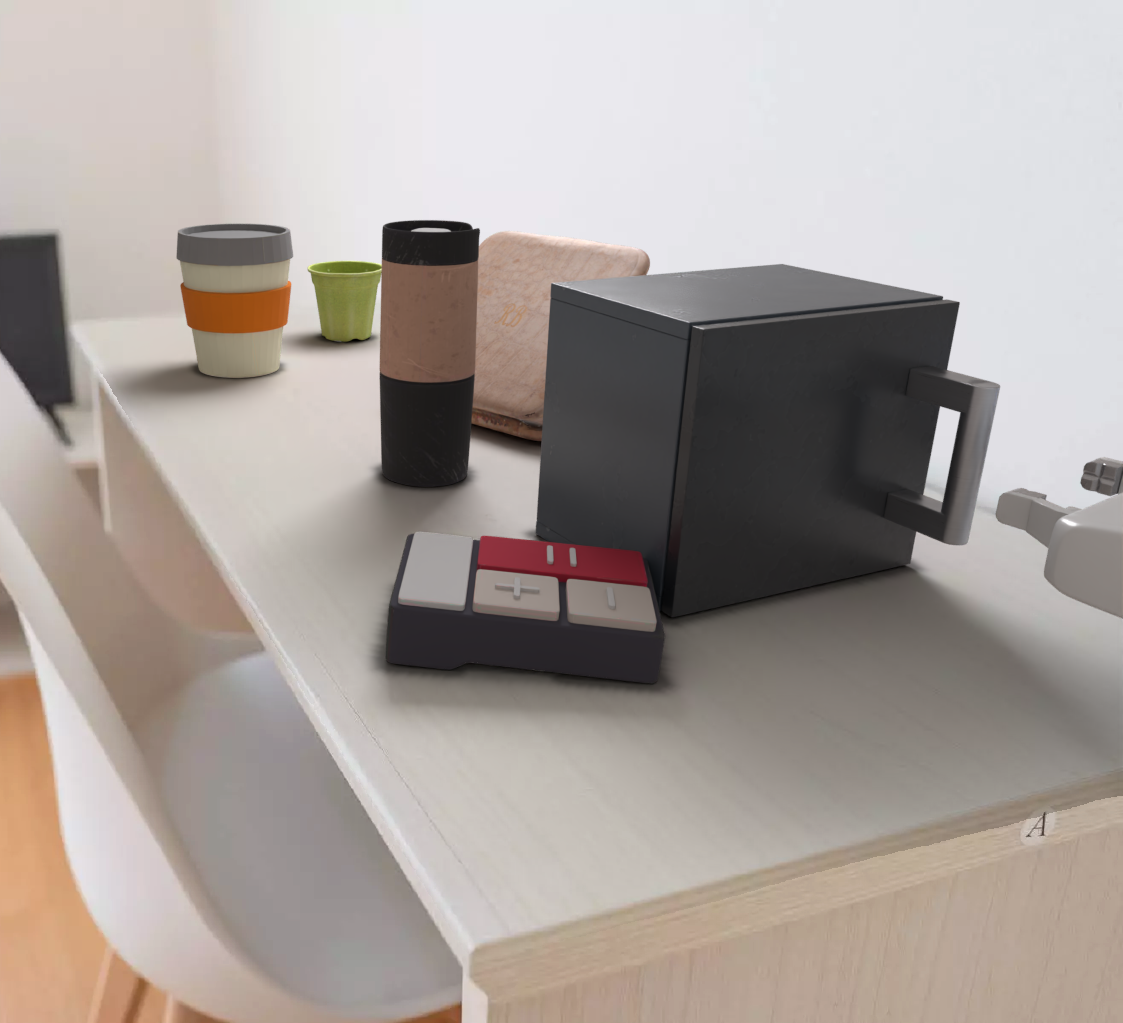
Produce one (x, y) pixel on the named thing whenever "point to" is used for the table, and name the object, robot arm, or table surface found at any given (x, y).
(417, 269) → the travel mug
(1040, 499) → the robot arm
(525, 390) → the case
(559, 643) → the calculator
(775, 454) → the dark grey door
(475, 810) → the table surface
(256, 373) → the reusable coffee cup
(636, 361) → the dark grey cabinet
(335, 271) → the plant pot
